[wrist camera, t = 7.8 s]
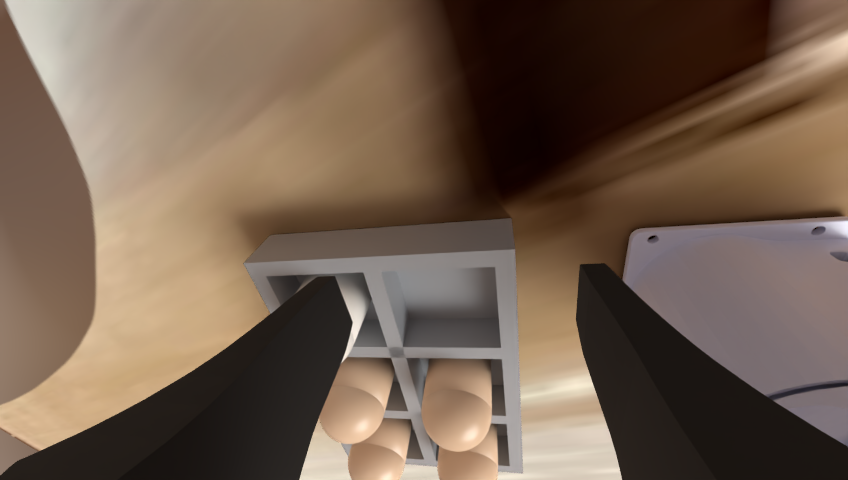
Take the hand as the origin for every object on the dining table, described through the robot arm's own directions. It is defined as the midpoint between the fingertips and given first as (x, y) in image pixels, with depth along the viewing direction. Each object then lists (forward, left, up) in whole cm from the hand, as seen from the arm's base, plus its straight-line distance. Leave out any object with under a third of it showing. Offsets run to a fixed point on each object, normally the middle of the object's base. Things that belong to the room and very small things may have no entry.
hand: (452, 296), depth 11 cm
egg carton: (+5, +14, -9) cm, 18 cm away
